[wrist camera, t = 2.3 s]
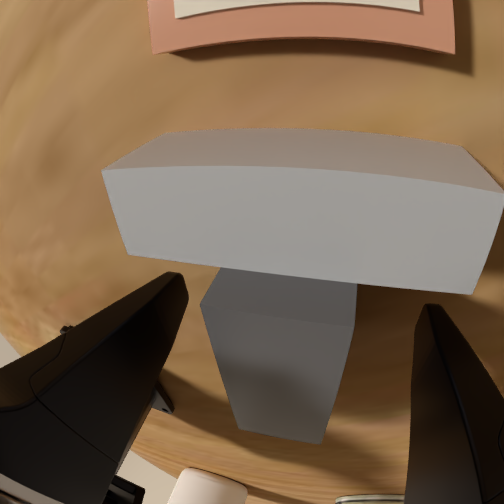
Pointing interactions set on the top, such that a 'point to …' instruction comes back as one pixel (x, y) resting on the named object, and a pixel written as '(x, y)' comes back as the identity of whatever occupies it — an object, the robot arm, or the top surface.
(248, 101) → the top surface
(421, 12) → the tile
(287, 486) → the top surface
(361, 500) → the coffee can
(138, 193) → the grey block mallet
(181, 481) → the wine bottle
